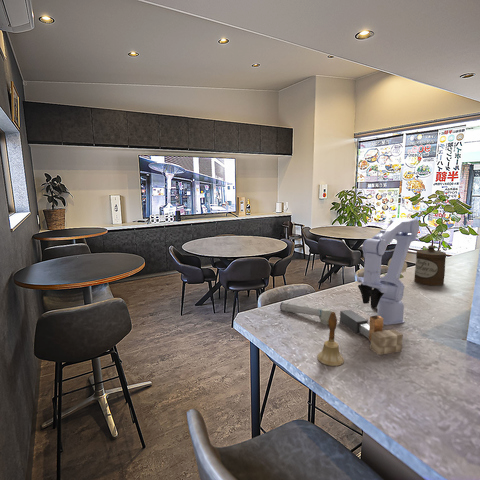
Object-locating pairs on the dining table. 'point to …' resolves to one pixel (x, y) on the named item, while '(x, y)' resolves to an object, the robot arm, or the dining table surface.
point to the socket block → (386, 341)
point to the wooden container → (430, 266)
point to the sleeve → (351, 320)
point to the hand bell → (331, 346)
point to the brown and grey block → (371, 326)
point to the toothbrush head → (307, 311)
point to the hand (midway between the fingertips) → (369, 305)
